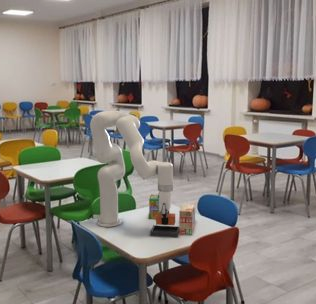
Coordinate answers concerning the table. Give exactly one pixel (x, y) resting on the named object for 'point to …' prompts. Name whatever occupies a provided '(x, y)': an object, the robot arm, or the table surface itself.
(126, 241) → the table surface
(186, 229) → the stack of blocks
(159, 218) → the orange rectangular block
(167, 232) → the frame
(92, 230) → the table surface
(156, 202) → the chalk box
